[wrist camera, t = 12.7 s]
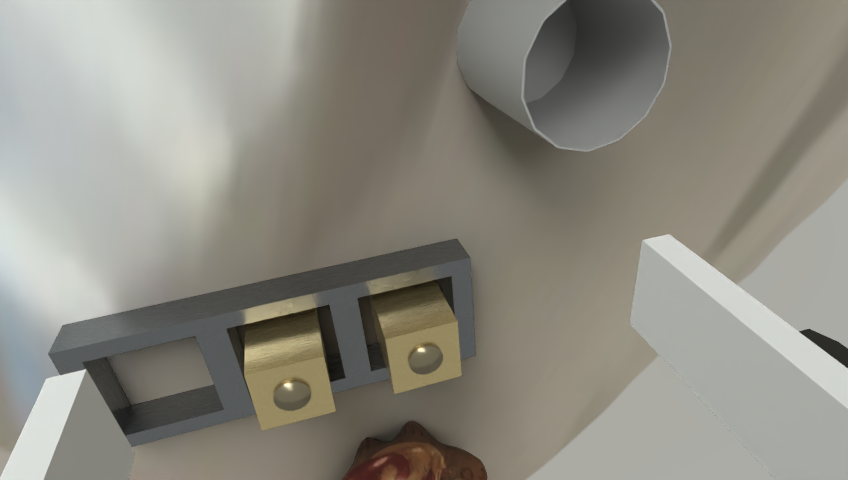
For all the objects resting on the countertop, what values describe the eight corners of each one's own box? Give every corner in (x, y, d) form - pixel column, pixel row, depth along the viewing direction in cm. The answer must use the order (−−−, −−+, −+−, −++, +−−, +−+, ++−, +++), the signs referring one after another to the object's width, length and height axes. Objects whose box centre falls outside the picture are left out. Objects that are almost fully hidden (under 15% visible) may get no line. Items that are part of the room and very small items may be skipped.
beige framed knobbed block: (366, 283, 41) (386, 341, 35) (429, 268, 42) (458, 323, 36) (375, 333, 43) (395, 396, 37) (434, 319, 44) (462, 378, 38)
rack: (62, 325, 36) (48, 354, 33) (457, 238, 41) (470, 257, 39) (115, 422, 41) (106, 453, 38) (463, 333, 46) (475, 355, 43)
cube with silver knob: (245, 311, 39) (244, 378, 33) (313, 296, 40) (324, 359, 34) (260, 362, 42) (261, 433, 36) (324, 347, 43) (336, 414, 37)
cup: (535, 122, 38) (614, 171, 30) (436, 80, 35) (493, 122, 27) (594, 4, 36) (700, 22, 27) (492, -54, 32) (576, -54, 24)
